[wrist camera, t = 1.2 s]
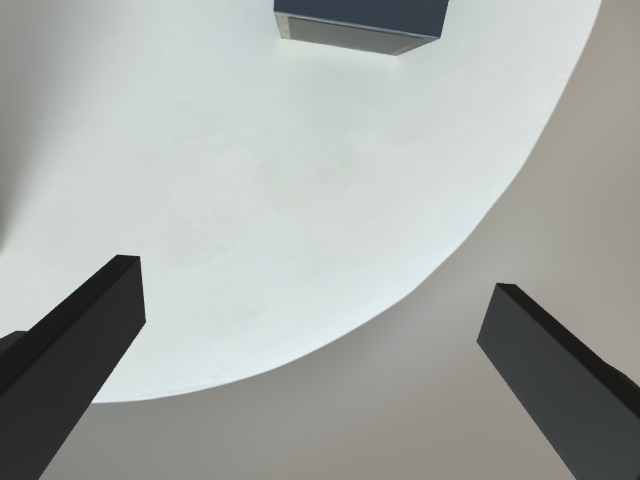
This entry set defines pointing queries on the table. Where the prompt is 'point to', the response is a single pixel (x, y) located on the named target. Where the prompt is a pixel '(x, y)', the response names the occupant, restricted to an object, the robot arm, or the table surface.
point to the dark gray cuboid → (362, 23)
